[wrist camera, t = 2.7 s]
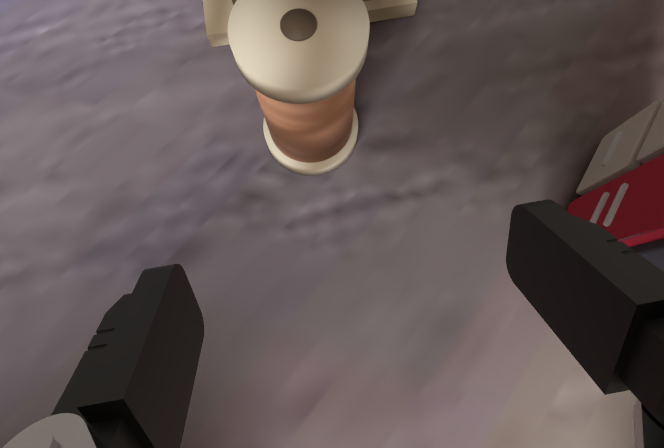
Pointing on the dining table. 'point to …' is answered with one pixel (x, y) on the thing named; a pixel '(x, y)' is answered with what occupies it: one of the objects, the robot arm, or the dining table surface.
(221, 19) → the board
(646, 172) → the calculator
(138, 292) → the robot arm
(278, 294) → the dining table surface
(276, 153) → the bobbin
